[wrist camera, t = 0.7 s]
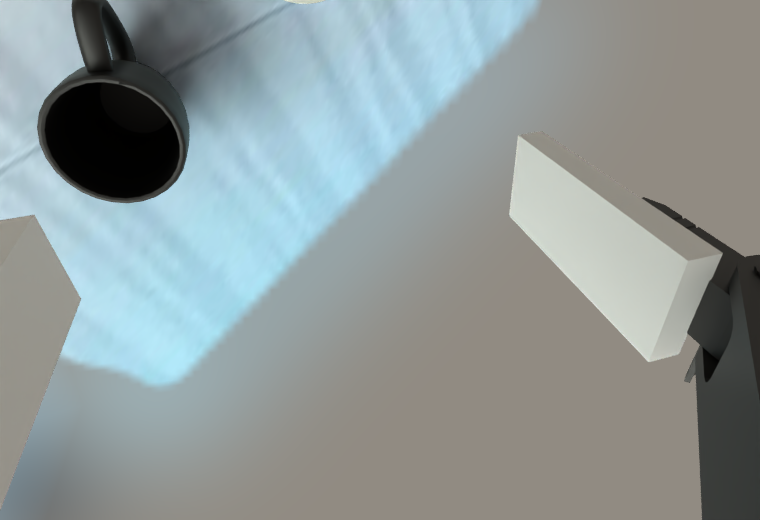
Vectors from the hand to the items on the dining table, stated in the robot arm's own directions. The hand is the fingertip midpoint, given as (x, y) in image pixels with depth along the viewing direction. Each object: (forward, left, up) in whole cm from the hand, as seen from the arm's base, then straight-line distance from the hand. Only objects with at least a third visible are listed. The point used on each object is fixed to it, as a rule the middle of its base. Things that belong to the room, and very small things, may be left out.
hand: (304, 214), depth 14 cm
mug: (+4, -9, -29) cm, 31 cm away
